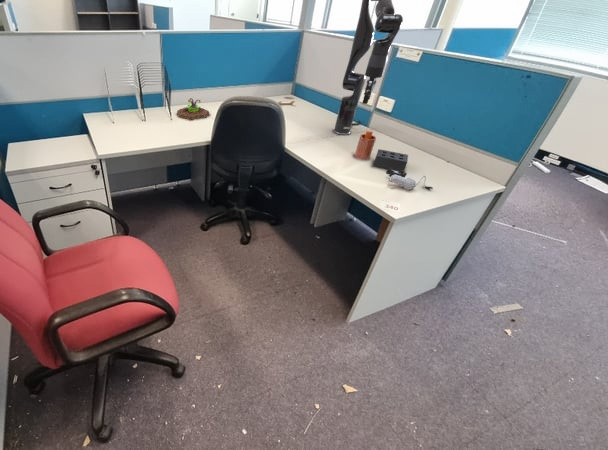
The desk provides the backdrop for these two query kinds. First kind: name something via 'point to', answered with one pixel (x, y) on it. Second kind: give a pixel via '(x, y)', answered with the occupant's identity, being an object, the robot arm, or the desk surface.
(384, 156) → the holder
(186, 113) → the plant
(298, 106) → the desk surface
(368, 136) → the orange cylinder rod
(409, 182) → the clip-on lamp
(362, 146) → the pen cup
